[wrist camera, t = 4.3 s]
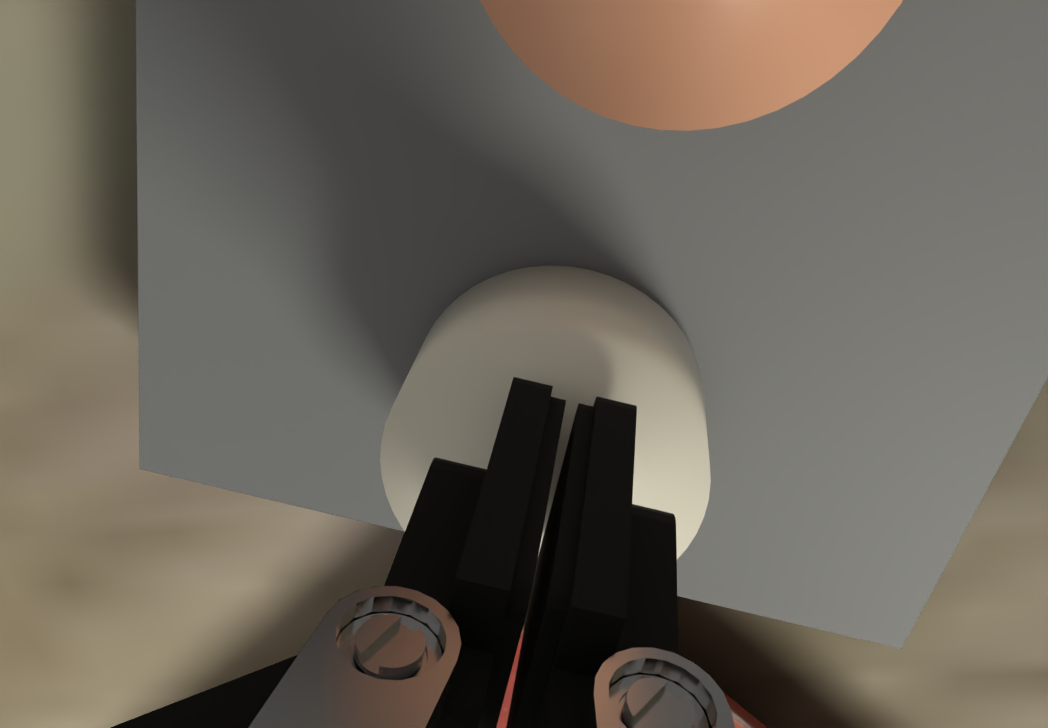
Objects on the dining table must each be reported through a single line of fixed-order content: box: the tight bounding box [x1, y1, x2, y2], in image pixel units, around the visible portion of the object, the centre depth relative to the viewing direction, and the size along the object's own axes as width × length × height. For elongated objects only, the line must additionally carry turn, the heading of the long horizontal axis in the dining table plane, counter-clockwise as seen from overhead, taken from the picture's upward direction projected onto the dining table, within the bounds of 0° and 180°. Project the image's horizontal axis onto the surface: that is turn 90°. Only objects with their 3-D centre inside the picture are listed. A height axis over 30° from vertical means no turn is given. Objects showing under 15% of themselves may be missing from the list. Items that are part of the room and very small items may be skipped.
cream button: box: [380, 265, 711, 559], centre depth 14 cm, size 5×5×2 cm
